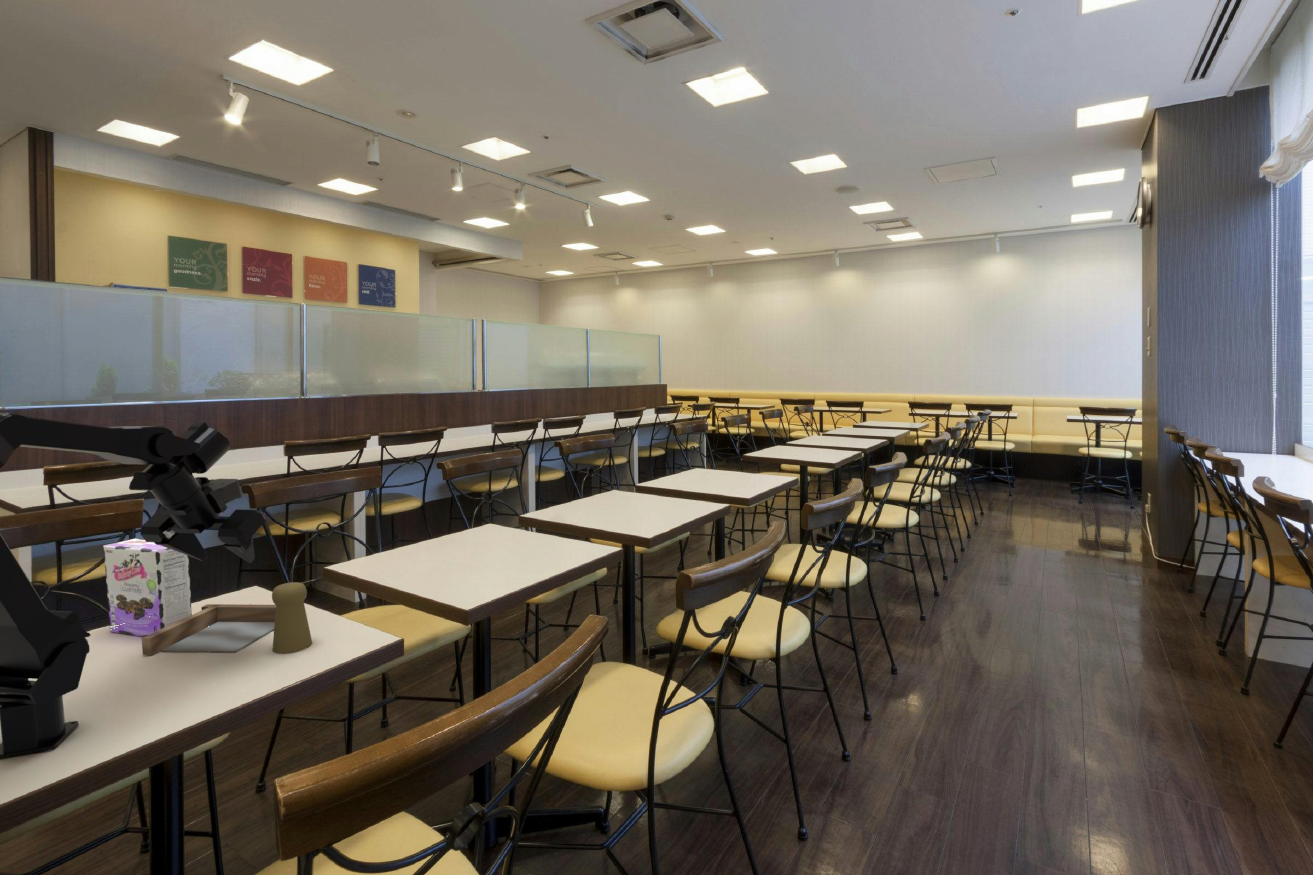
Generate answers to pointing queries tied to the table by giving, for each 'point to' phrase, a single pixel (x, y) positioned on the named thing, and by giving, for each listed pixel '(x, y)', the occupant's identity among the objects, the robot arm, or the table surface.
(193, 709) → the table surface
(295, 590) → the cork
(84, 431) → the robot arm
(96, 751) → the table surface
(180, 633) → the wood edged grey tray
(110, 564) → the candy box
